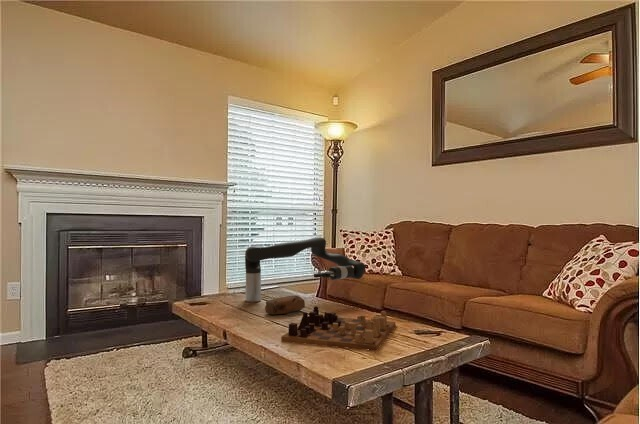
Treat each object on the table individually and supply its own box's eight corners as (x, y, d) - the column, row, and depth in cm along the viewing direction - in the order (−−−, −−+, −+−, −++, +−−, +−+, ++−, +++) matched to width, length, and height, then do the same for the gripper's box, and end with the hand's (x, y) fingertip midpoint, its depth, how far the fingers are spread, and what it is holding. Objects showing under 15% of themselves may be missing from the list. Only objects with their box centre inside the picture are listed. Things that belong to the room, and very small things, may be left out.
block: (294, 307, 241) (263, 313, 229) (294, 293, 241) (263, 299, 229) (306, 311, 233) (274, 317, 220) (306, 297, 232) (274, 302, 220)
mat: (268, 308, 242) (268, 307, 242) (280, 306, 246) (280, 305, 246) (288, 314, 226) (288, 313, 226) (300, 312, 230) (300, 311, 230)
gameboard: (376, 352, 164) (376, 328, 164) (281, 342, 178) (281, 320, 178) (395, 327, 201) (395, 307, 202) (315, 320, 215) (315, 302, 215)
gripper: (330, 265, 258) (307, 268, 248) (345, 267, 248) (321, 270, 237) (331, 278, 258) (307, 281, 248) (345, 280, 248) (321, 283, 237)
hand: (314, 275), depth 243 cm, fingers closed
